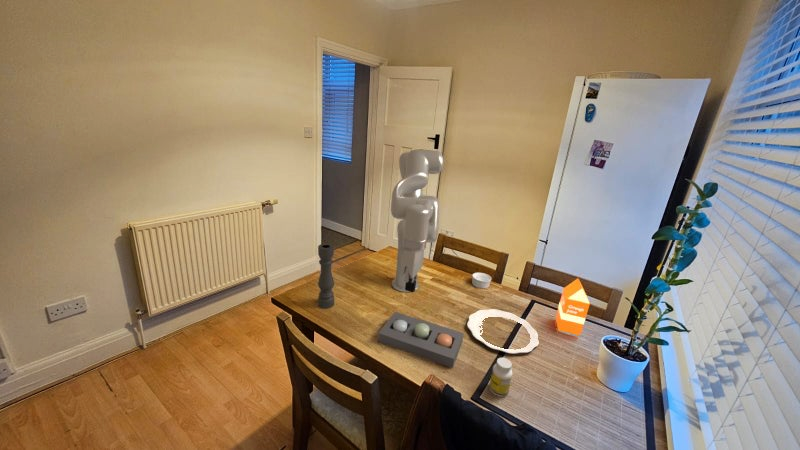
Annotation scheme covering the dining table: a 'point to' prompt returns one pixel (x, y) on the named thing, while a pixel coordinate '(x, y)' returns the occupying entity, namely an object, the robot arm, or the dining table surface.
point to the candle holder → (326, 276)
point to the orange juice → (572, 308)
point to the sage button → (422, 331)
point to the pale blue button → (400, 326)
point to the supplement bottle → (501, 377)
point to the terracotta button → (444, 340)
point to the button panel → (421, 340)
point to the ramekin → (481, 280)
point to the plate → (480, 315)
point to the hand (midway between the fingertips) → (410, 290)
